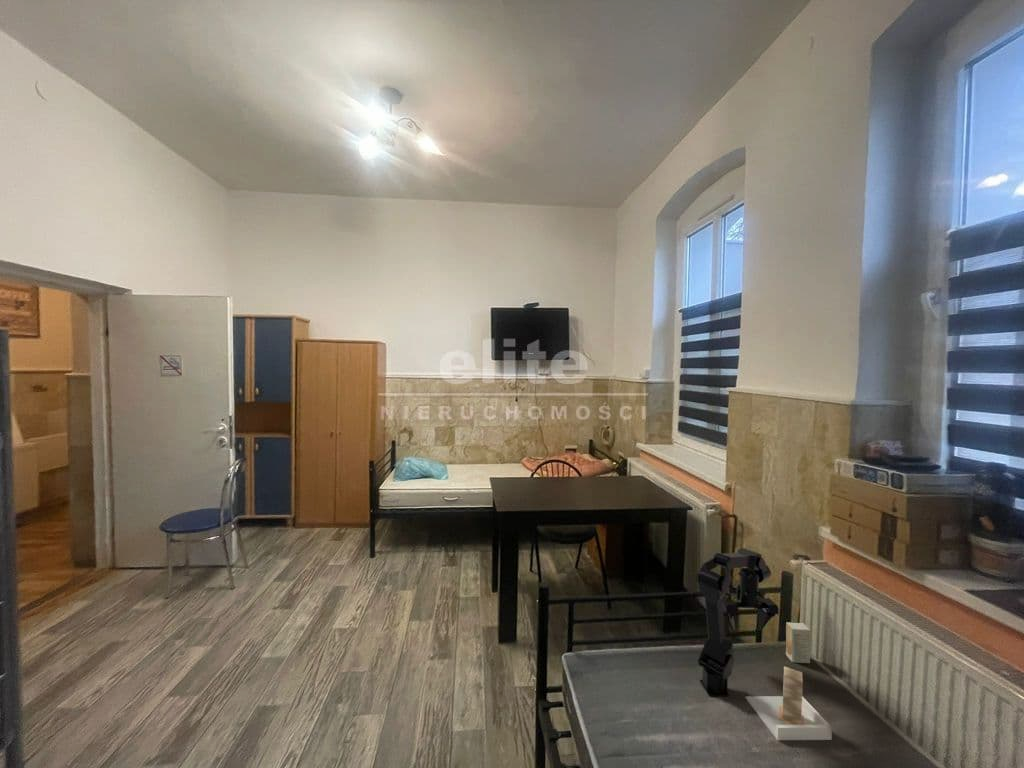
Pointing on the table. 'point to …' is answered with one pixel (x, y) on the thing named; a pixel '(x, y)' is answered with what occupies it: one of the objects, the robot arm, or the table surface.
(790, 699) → the birch block
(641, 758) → the table surface
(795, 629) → the skincare box
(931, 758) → the table surface
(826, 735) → the tray
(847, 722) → the table surface
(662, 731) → the table surface
